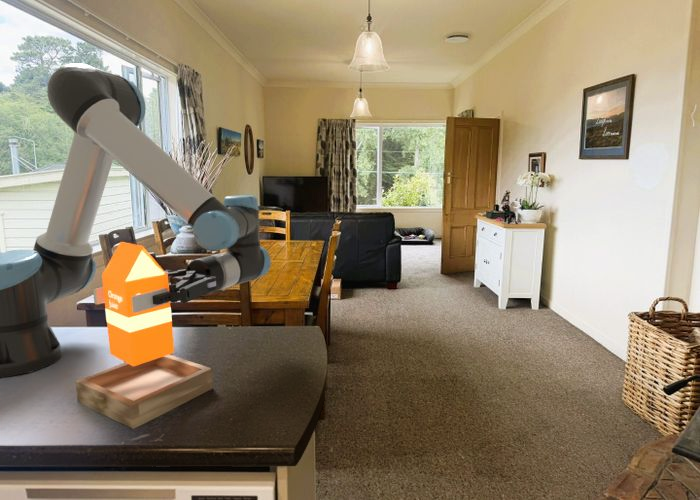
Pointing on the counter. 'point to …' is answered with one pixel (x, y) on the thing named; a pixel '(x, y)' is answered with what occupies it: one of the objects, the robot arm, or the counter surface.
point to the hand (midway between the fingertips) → (113, 300)
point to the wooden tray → (144, 389)
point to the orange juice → (123, 325)
